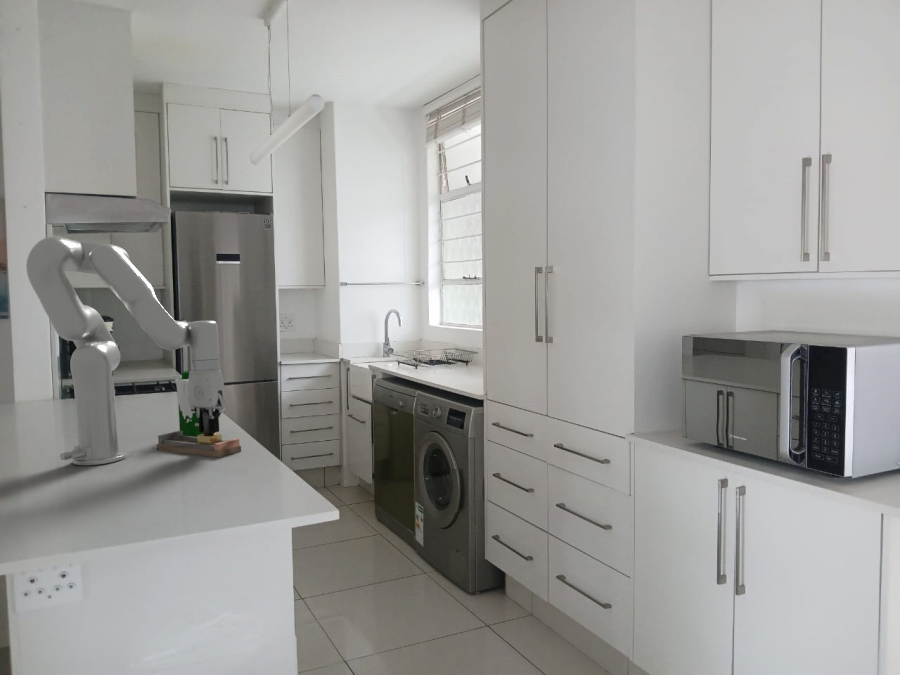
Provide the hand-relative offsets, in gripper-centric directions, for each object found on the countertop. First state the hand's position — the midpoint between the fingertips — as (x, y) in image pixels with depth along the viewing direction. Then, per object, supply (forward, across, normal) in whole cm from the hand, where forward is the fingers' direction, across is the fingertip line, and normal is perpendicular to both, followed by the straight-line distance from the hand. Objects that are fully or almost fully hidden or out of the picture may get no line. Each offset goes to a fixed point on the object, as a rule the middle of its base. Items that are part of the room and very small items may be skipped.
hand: (209, 431), depth 191 cm
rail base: (+6, -5, 0) cm, 8 cm away
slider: (+4, 0, 0) cm, 4 cm away
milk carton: (+6, -21, +13) cm, 25 cm away
